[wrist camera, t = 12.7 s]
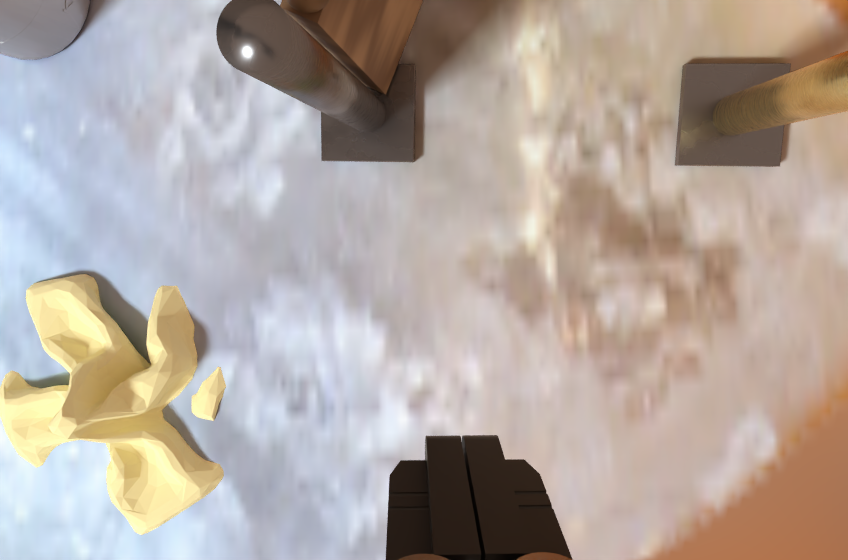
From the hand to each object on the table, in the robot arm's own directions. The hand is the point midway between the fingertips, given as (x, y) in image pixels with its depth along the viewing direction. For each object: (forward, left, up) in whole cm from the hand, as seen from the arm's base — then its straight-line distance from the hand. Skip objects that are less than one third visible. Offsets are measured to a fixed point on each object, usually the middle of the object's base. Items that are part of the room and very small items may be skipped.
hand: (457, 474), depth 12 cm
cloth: (-25, -8, -28) cm, 38 cm away
